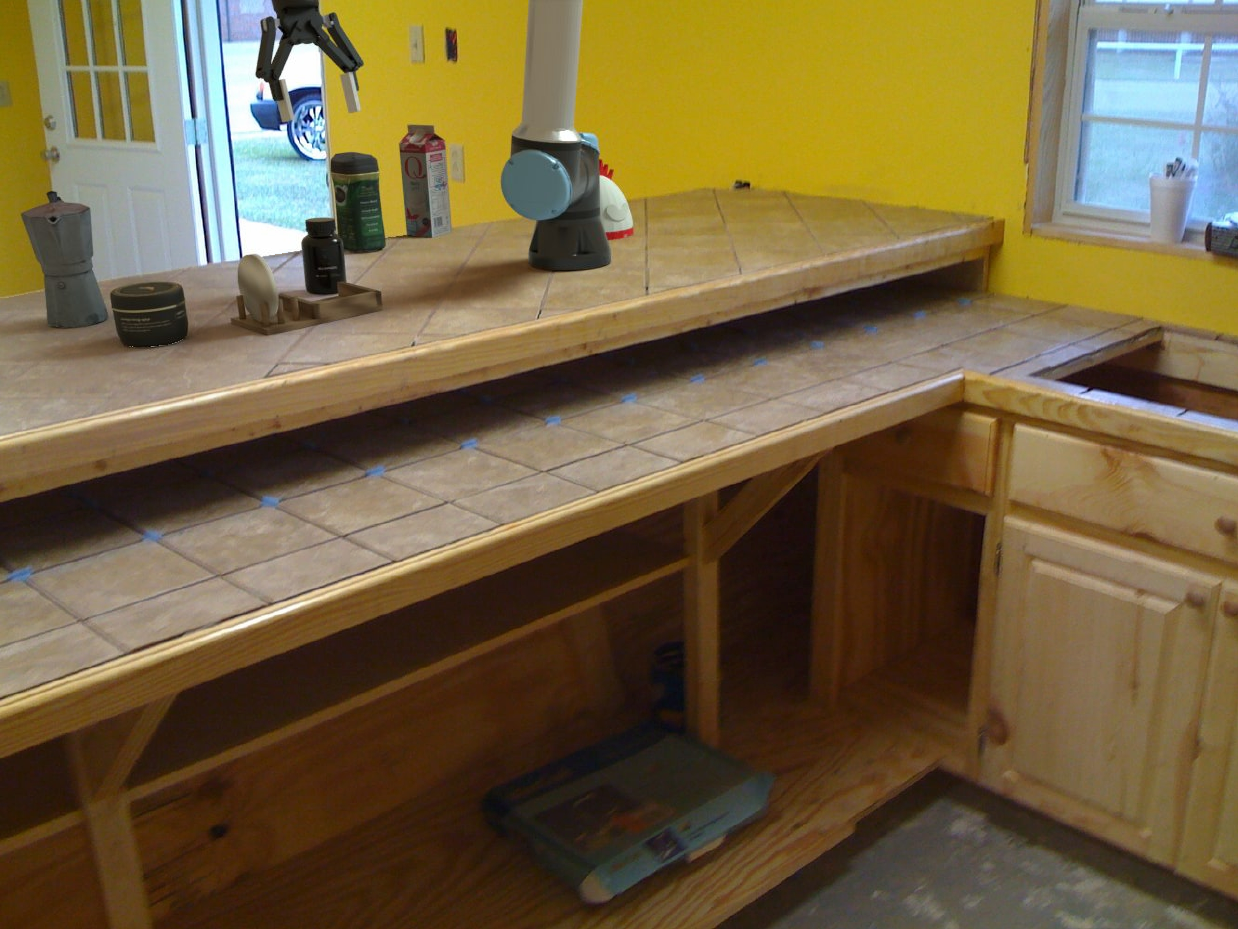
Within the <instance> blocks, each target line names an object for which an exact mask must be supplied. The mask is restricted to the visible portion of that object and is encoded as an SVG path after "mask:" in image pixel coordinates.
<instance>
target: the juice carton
mask: <svg viewBox="0 0 1238 929" xmlns="http://www.w3.org/2000/svg"><path fill="white" fill-rule="evenodd" d="M406 126H407V133H406V134H405V135H404V136H403V137H402V139H401V140H400V142H398V148H399V161H400V171H401V173H400V174H401V182H402V194H403V206H404V207H403V208H404V218H405V219H404V220H405V229H406V236H407V237H408V235H412V236H411V237H420V238H421V237H422V238H431V239H433V238H436V237H440V236H443V235H447V234H450V233H452V230H453V229H452V218H451V217H452V215H451V204H450V191H449V190H450V187H449V174H448V173H449V172H448V162H447V149H446V140H445V139H444V138H442V137H441V136H439V135H438V134H436V132H435V131H436V130H435V125H434V124H433V125H432V124H407V125H406Z"/></svg>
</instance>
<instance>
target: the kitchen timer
mask: <svg viewBox="0 0 1238 929" xmlns="http://www.w3.org/2000/svg"><path fill="white" fill-rule="evenodd" d="M608 170H609V171H608ZM614 171H615V170H614V169H613V168H610V169H609V163H608V164H607V163H604V161H603V159H601V158H599V173H600V215H601V222H602V225H603V227H604V230H605V233H606V236H607V239H608V241H614V239H615V240H622V239H625V237H626V238H629V237H628V236H630V237H632V236H633V235H634V220H633V215H632V213H631V210H630V207H629V203H628V201H627V199H626V197H625V195H624V193H623V192H622V190H621V189H620V188H619V186H618V185H617V184H616V183H615V182H614V181H613V180H612V179H613V178H612V177H613V176H614ZM631 235H632V236H631ZM621 238H622V239H621Z"/></svg>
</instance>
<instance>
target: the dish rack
mask: <svg viewBox="0 0 1238 929" xmlns="http://www.w3.org/2000/svg"><path fill="white" fill-rule="evenodd" d="M237 284H238V286H237V287H238V290H239V291H238V292H239V295H236V303H237V304H236V305H237V310H238V316H233V317H230V324H233V325H236V326H239V327H242V328H245V329H248V330H250V331H254V332H255V333H261V334H263V335H266V336H271V335H277V334H280V333H285V332H289V331H294V330H299V329H303V328H307V327H312V326H313V327H314V326H317V325H321V324H325V323H329V322H335V321H339V320H343V319H347V318H353V317H358V316H363V315H366V314H371V313H376V312H379V311H384V310H383V309H384V308H383V299H382V291H381V290H379V289H373V288H370V287H365V286H362V285H359V284H355V283H349V282H348V281H347V282H343V281H341V282H337V287H338V295H336V296H330V297H325V298H321V299H315V300H312V301H310V300H307V299H303V298H299V297H298V296H296V295H295V296H294V295H293V296H292V295H289V294H285V293H279V291H278V285H277V281H276V278H275V274H274V273H273V270H272V269H271V267H270V265H269V263H268V262H267V261H266V260H265V258H263V257H262V256H261V255H259V254H257V253H250V254H246V255H244V256H242V257H241V259H240V260H239V263H238V266H237ZM246 311H247V312H248V314H247V313H246Z"/></svg>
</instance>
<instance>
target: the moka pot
mask: <svg viewBox="0 0 1238 929" xmlns="http://www.w3.org/2000/svg"><path fill="white" fill-rule="evenodd" d="M46 197H47V199H48V201H49V202H46V203H44V204H42V205H41V204H40V205H37V206H35V207H31V208H30V209H27V210H25V211H23V212H21V213H20V216H21V220H22V223H23V225H24V227H25V231H26V233H27V236H28V239H29V242H30V244H31V248H32V249H33V253H34V256H35V258H36V260H37V262H38V263H39V264H40V268H41V272H42V274H43V281H44V282H43V283H44V295H45V309H46V321H47V322H46V324H47V325H48V326H50V327H52V326H58V327H76V328H80V327H79V326H84V327H88V325H89V326H92V324H93V325H96V324H99V323H101V322H104V321H106V320H107V319H108V318H109V313H108V312H109V311H108V309H107V307H106V306H107V305H106V303H105V300H104V297H103V294H102V292H101V289H100V286H99V283H98V280H97V278H96V275H95V272H94V270H93V267H94V265H93V260H92V258H93V256H94V245H93V244H94V243H93V242H94V241H93V227H92V226H93V225H92V215H91V214H92V213H91V212H92V210H91V207H90V206H87V205H86V204H85V205H84V204H82V203H80V202H79V203H78V202H65V201H64V200H62V198H61V197H60V196H58V192H57V191H54V190H50V191H48V192H46Z"/></svg>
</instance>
